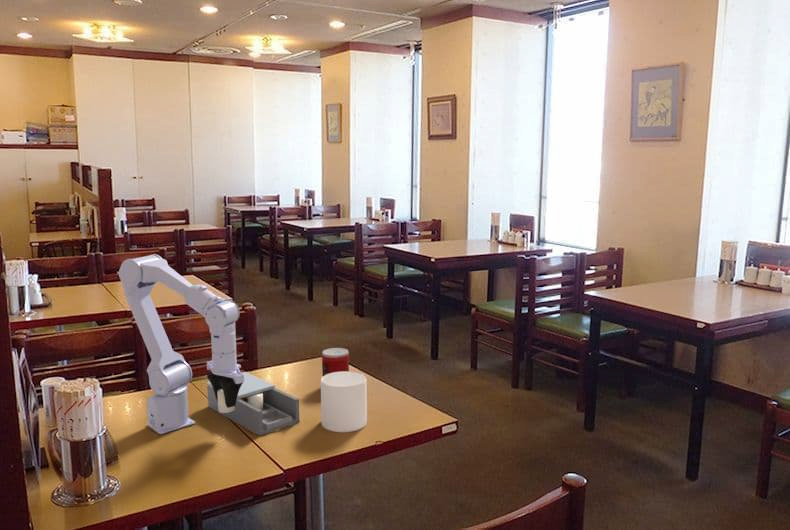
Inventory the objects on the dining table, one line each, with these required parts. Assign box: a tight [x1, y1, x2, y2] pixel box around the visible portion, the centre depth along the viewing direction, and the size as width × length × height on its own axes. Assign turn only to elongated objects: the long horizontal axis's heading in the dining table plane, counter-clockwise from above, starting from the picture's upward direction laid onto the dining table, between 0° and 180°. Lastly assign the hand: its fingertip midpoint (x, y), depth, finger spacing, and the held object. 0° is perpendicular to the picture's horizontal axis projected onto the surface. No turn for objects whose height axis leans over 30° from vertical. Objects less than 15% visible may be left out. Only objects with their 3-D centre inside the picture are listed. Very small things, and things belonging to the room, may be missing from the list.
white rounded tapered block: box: [246, 392, 263, 411], centre depth 168 cm, size 4×4×5 cm
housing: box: [206, 384, 300, 436], centre depth 169 cm, size 12×26×6 cm, turn 44°
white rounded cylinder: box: [217, 388, 235, 413], centre depth 156 cm, size 4×4×5 cm
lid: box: [206, 371, 276, 399], centre depth 172 cm, size 12×16×2 cm
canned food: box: [321, 347, 350, 377], centre depth 189 cm, size 8×8×11 cm
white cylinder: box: [320, 370, 368, 433], centre depth 163 cm, size 12×12×12 cm
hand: (226, 403), depth 156 cm, fingers closed on white rounded cylinder, 4 cm apart
